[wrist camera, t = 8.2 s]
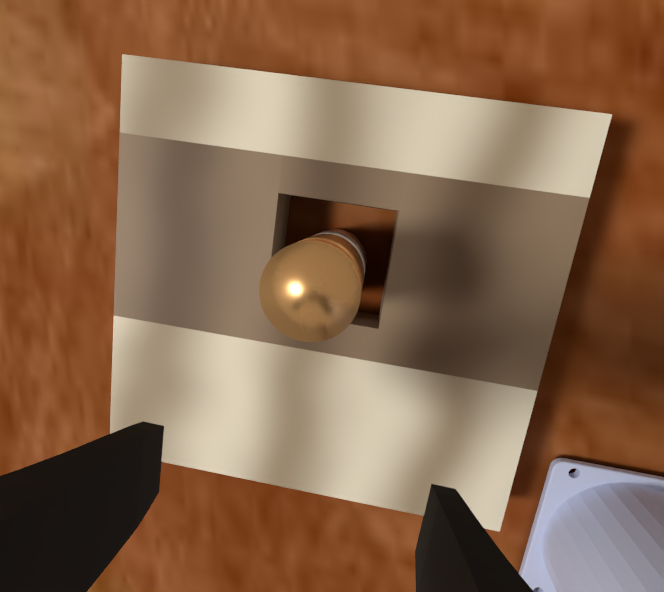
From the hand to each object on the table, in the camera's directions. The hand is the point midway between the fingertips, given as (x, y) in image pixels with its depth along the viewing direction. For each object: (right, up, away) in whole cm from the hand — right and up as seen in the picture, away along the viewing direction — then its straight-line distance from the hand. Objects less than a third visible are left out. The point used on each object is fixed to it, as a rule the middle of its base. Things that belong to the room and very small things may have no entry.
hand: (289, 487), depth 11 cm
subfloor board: (+1, +5, +9) cm, 11 cm away
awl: (+1, +7, +9) cm, 11 cm away
